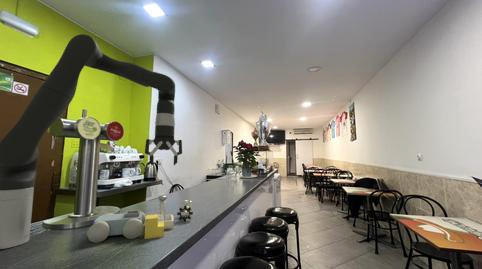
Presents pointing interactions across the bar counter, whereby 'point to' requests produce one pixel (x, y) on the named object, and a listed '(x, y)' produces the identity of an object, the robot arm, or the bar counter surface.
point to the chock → (153, 227)
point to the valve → (185, 210)
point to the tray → (168, 222)
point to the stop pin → (162, 207)
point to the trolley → (117, 225)
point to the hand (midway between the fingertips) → (163, 165)
